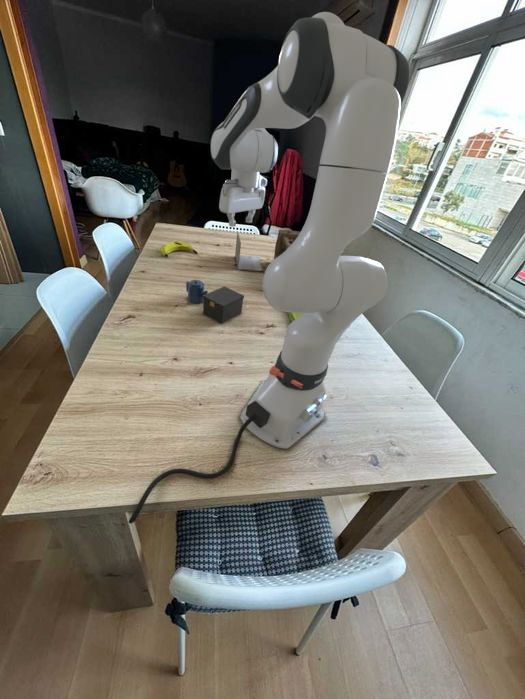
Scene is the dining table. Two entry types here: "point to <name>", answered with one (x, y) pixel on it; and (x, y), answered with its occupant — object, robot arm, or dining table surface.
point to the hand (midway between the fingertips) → (240, 224)
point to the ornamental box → (284, 241)
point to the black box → (222, 304)
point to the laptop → (246, 259)
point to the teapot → (195, 291)
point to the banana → (176, 247)
